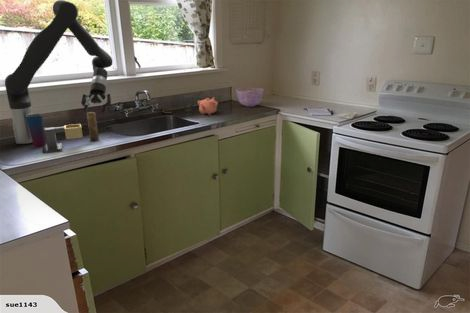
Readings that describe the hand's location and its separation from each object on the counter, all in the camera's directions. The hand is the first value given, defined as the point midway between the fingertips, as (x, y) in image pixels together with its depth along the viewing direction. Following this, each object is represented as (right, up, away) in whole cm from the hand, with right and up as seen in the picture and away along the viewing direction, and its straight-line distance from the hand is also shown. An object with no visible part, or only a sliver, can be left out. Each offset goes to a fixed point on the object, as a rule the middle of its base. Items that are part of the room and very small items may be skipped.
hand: (94, 112), depth 192 cm
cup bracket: (-10, -18, -13) cm, 25 cm away
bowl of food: (+82, +14, +80) cm, 116 cm away
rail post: (0, -14, -1) cm, 14 cm away
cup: (-23, -17, -10) cm, 30 cm away
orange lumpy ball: (+54, +6, +57) cm, 78 cm away
